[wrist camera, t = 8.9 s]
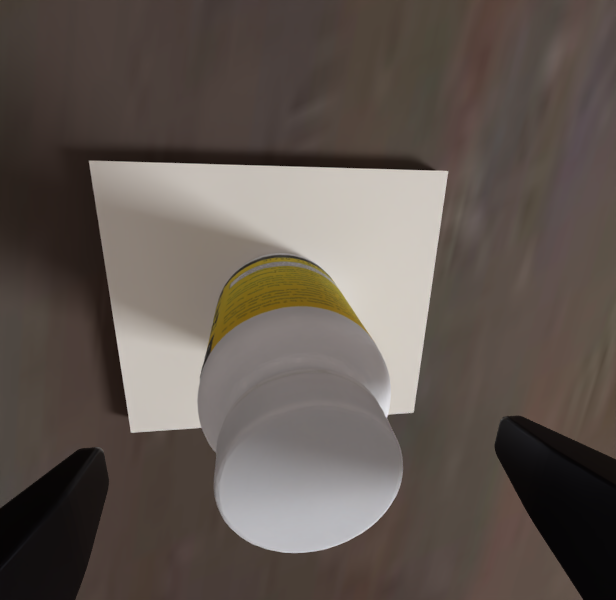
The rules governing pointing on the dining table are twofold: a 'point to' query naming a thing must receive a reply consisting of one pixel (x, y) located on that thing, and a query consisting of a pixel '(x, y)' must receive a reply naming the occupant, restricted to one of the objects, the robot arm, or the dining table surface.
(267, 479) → the supplement bottle
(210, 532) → the dining table surface
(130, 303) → the ceramic tile
